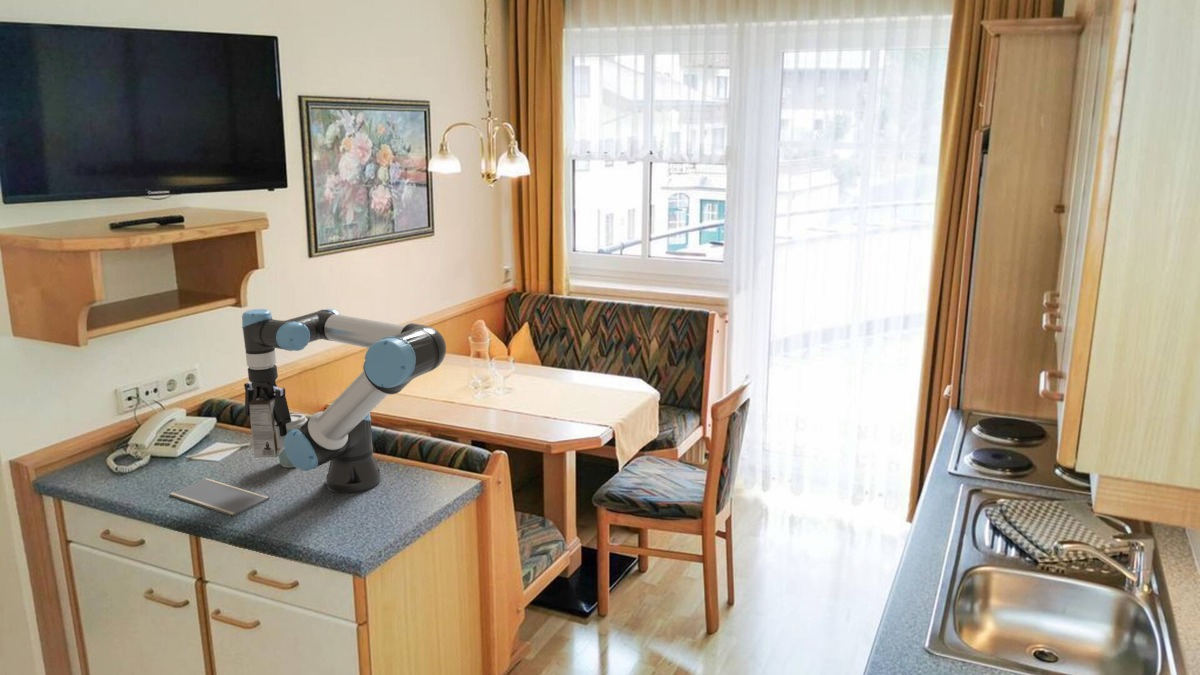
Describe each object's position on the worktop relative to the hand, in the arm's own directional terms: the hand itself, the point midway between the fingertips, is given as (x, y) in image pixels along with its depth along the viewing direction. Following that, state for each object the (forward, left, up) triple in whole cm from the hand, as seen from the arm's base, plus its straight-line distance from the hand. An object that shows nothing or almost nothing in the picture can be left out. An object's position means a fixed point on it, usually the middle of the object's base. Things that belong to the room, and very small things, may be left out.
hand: (270, 443), depth 253 cm
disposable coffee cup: (+9, -15, -14) cm, 22 cm away
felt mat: (+8, +12, -13) cm, 20 cm away
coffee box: (0, 0, -3) cm, 3 cm away
